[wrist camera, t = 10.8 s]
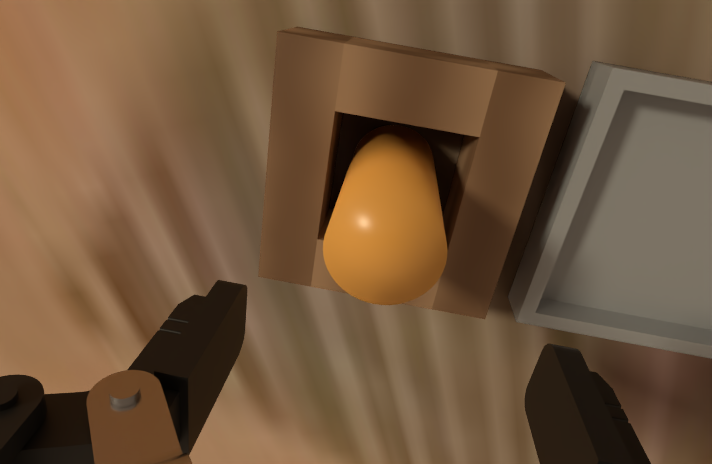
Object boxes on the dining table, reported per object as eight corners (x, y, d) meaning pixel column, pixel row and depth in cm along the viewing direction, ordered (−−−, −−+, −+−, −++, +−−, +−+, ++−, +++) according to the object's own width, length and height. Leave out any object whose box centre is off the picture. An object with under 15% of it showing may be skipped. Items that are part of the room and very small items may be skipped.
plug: (442, 132, 25) (461, 208, 16) (423, 209, 27) (431, 314, 18) (359, 117, 25) (331, 184, 16) (346, 195, 27) (316, 292, 18)
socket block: (541, 70, 23) (565, 82, 20) (475, 279, 28) (485, 319, 25) (297, 26, 23) (277, 31, 20) (277, 242, 29) (258, 276, 25)
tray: (880, 111, 22) (932, 124, 20) (733, 339, 28) (761, 368, 26) (592, 61, 23) (613, 67, 20) (507, 297, 29) (516, 322, 26)
